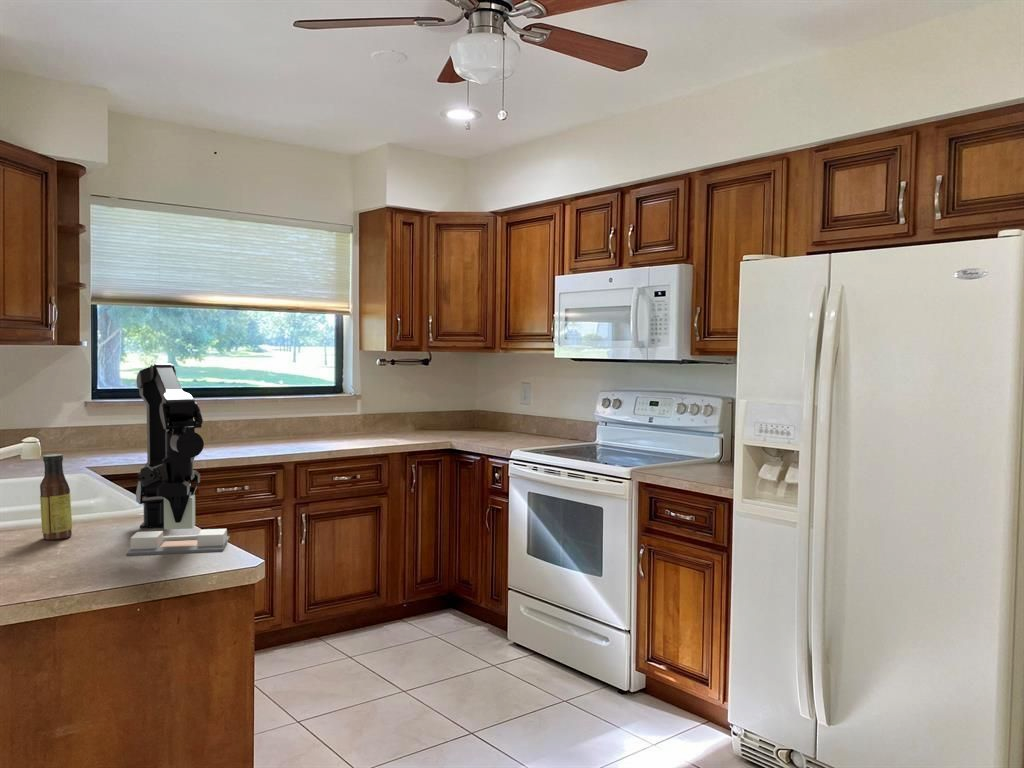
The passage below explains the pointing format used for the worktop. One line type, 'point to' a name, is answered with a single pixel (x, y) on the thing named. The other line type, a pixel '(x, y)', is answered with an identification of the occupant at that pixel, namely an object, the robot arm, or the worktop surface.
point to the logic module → (187, 518)
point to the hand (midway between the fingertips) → (179, 520)
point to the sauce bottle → (55, 500)
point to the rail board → (178, 542)
